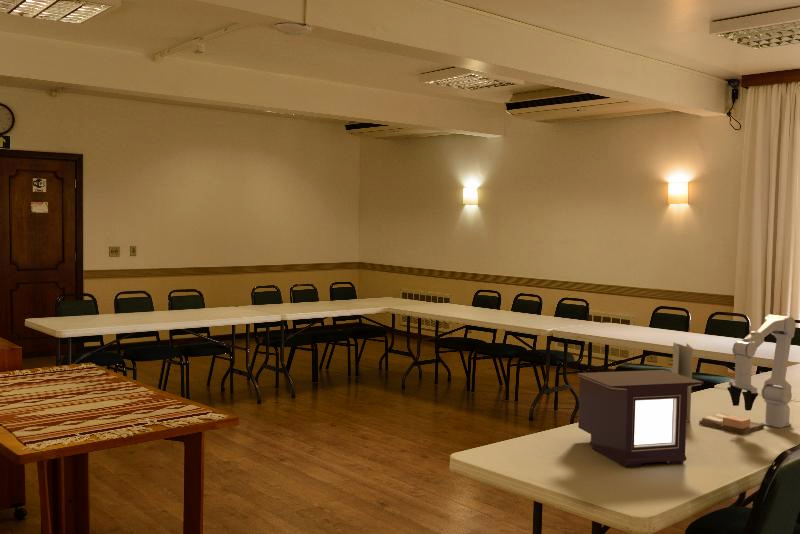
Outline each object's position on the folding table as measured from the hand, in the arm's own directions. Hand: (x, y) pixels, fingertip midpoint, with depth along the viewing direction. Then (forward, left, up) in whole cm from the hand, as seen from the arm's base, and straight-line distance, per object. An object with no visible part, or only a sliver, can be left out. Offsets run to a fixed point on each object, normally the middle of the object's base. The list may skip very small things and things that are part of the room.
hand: (741, 407), depth 301 cm
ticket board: (-6, -8, -10) cm, 14 cm away
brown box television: (+58, -10, -10) cm, 59 cm away
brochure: (-2, -28, -10) cm, 29 cm away
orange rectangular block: (-2, -3, -8) cm, 9 cm away
